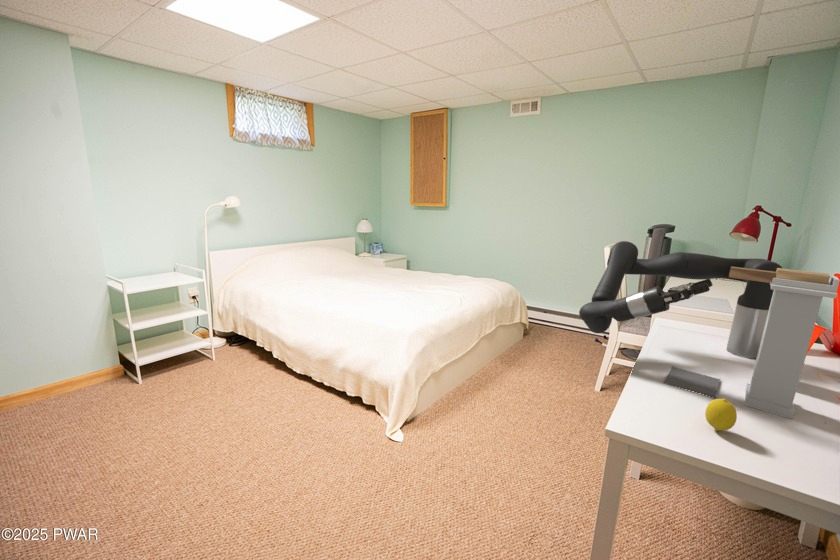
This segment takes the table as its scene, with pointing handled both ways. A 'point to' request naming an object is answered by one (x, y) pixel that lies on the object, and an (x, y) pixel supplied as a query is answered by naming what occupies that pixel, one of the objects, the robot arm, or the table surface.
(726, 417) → the lemon
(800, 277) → the bar
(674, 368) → the mat
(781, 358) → the stand
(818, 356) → the table surface
